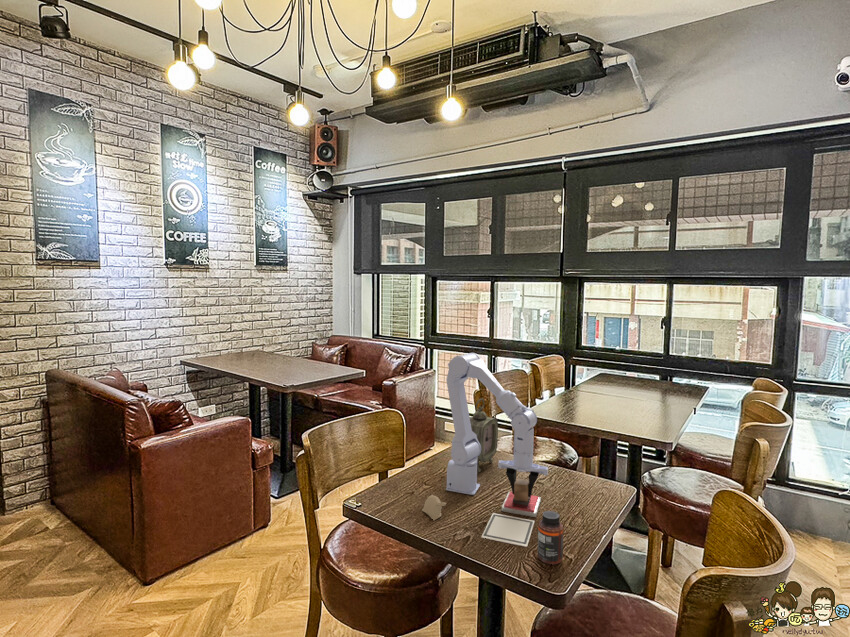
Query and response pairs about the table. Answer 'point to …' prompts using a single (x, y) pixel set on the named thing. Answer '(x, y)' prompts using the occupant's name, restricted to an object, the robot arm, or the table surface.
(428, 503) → the decorative ornament
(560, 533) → the supplement bottle
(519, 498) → the stamp
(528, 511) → the ink pad
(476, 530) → the table surface
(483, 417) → the tabletop clock
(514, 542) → the paper card
